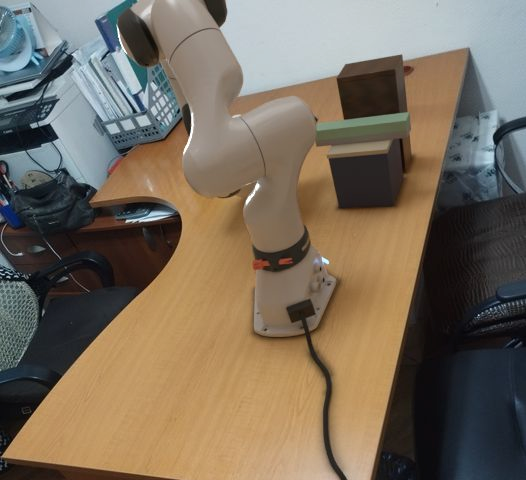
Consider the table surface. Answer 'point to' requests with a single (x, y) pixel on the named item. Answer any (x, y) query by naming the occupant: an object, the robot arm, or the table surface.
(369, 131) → the green box
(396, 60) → the shelf
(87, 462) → the table surface
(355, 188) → the archive box
